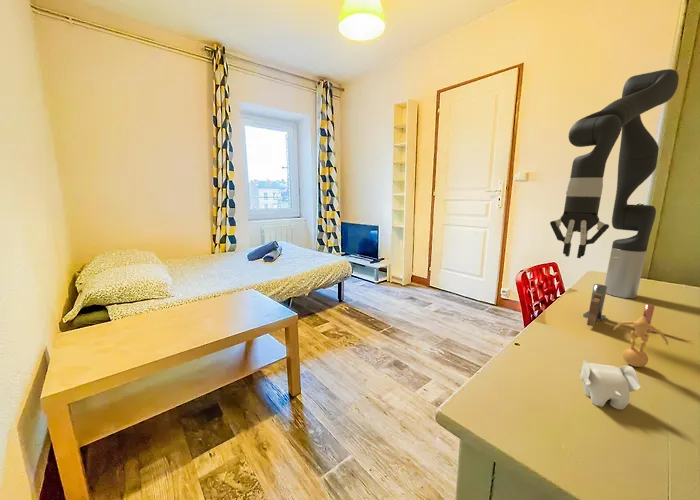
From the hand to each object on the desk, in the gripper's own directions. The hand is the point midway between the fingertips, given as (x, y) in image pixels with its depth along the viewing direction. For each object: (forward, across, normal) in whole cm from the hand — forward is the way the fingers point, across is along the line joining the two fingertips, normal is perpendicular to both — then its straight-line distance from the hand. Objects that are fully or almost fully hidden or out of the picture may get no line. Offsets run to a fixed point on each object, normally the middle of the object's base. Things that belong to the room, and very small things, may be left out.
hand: (572, 256), depth 83 cm
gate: (+18, -7, -2) cm, 19 cm away
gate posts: (+19, -12, -9) cm, 24 cm away
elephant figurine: (+19, -11, +36) cm, 43 cm away
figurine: (+19, -15, +19) cm, 31 cm away
